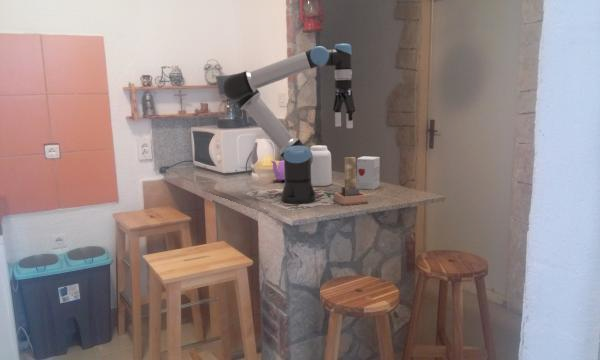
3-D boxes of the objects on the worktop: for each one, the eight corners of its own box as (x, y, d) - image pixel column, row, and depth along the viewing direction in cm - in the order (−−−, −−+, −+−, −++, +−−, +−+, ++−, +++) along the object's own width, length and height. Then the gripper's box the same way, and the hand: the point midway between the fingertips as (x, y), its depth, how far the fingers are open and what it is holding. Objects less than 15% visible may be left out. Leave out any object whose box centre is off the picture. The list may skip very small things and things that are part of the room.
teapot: (280, 185, 249) (279, 161, 247) (263, 182, 260) (262, 159, 257) (308, 180, 262) (308, 157, 260) (291, 177, 273) (291, 155, 270)
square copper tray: (343, 205, 201) (343, 191, 199) (333, 200, 211) (333, 186, 210) (367, 203, 204) (367, 189, 203) (356, 198, 214) (356, 184, 213)
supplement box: (356, 188, 235) (356, 158, 233) (362, 185, 243) (362, 155, 241) (373, 189, 231) (374, 159, 229) (379, 186, 239) (380, 156, 236)
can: (322, 187, 240) (321, 147, 236) (302, 185, 247) (301, 146, 244) (336, 183, 250) (335, 145, 246) (316, 181, 257) (315, 144, 254)
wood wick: (347, 200, 205) (346, 158, 202) (344, 199, 208) (344, 157, 204) (355, 199, 207) (355, 157, 203) (353, 198, 209) (353, 157, 206)
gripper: (362, 78, 205) (362, 128, 209) (340, 80, 229) (341, 125, 232) (346, 78, 203) (346, 129, 207) (325, 80, 227) (326, 126, 230)
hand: (343, 127), depth 220 cm, fingers open, 13 cm apart
